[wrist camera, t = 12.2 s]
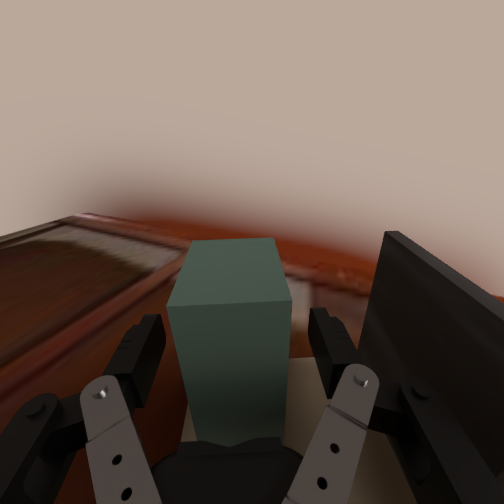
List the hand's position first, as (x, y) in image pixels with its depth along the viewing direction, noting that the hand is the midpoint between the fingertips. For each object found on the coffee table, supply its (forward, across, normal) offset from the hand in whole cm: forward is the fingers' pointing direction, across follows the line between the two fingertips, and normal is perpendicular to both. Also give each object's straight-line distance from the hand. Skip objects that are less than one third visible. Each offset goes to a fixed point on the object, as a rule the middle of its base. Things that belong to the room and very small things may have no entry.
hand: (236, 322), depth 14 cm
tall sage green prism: (-2, 0, +8) cm, 9 cm away
